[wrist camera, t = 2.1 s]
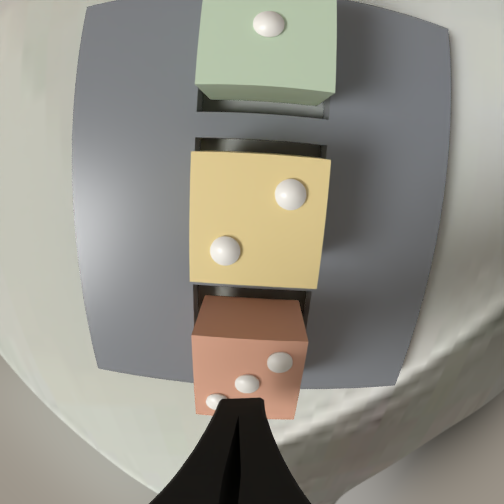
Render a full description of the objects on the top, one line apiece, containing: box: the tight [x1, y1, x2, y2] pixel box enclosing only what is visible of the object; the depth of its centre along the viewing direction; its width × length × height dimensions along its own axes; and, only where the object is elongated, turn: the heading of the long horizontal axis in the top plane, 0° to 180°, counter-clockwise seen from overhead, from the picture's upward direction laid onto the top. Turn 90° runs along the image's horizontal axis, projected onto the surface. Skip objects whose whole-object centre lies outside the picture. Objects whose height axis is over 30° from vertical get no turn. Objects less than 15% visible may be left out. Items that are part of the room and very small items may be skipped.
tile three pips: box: [191, 295, 308, 419], centre depth 13 cm, size 4×4×3 cm
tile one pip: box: [195, 0, 337, 106], centre depth 9 cm, size 4×4×3 cm
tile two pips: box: [189, 150, 331, 289], centre depth 11 cm, size 4×4×3 cm
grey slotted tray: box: [72, 0, 451, 389], centre depth 13 cm, size 16×18×1 cm
